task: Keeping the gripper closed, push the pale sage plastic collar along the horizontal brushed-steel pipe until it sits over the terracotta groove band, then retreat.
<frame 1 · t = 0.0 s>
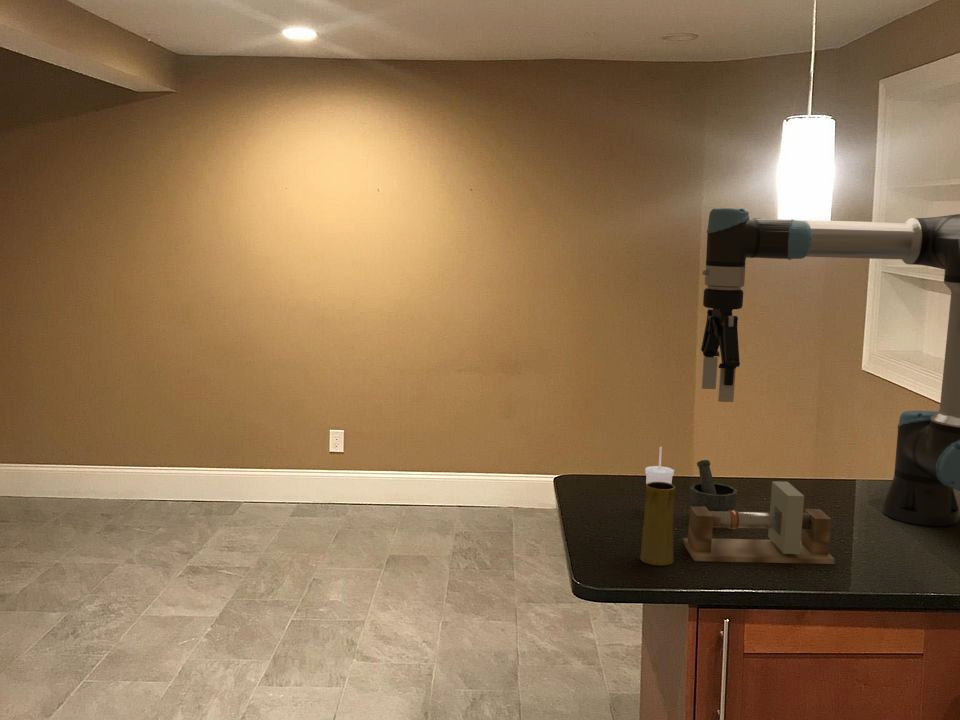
hand: (716, 395, 195), 28 cm above the table, fingers open, 13 cm apart
mortar and pestle: (710, 520, 206), on the table
stand: (756, 553, 186), on the table
vase: (656, 561, 181), on the table
beverage cup: (657, 510, 212), on the table
collar: (785, 516, 185), point 7 cm above the table, slide at -5.0 cm
pipe: (758, 520, 185), point 6 cm above the table
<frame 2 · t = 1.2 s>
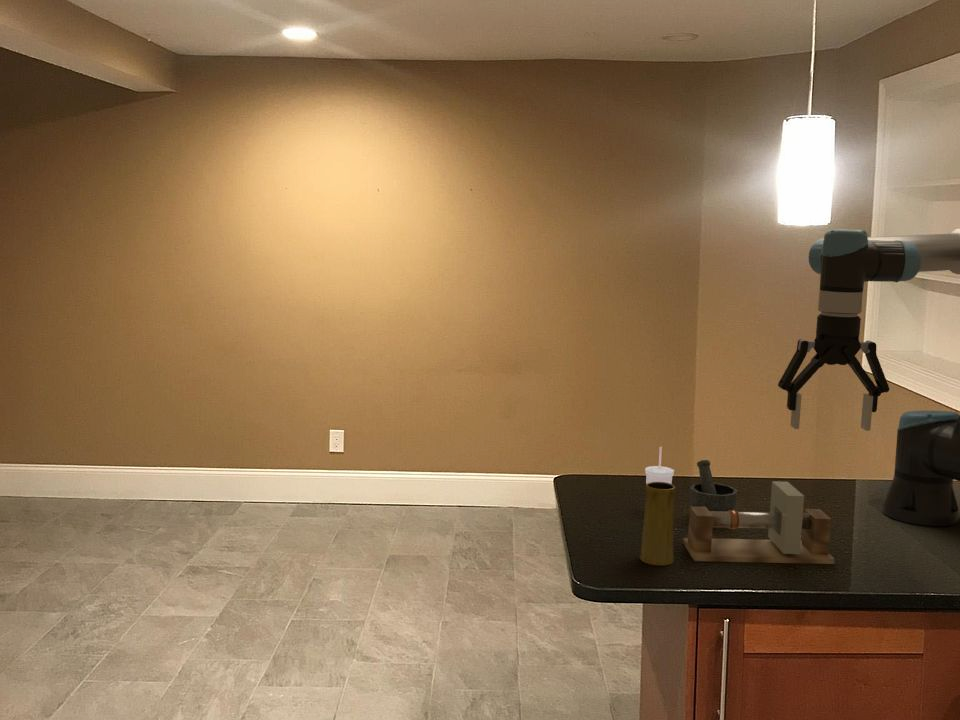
hand: (830, 428, 183), 24 cm above the table, fingers open, 12 cm apart
nothing on the table moved.
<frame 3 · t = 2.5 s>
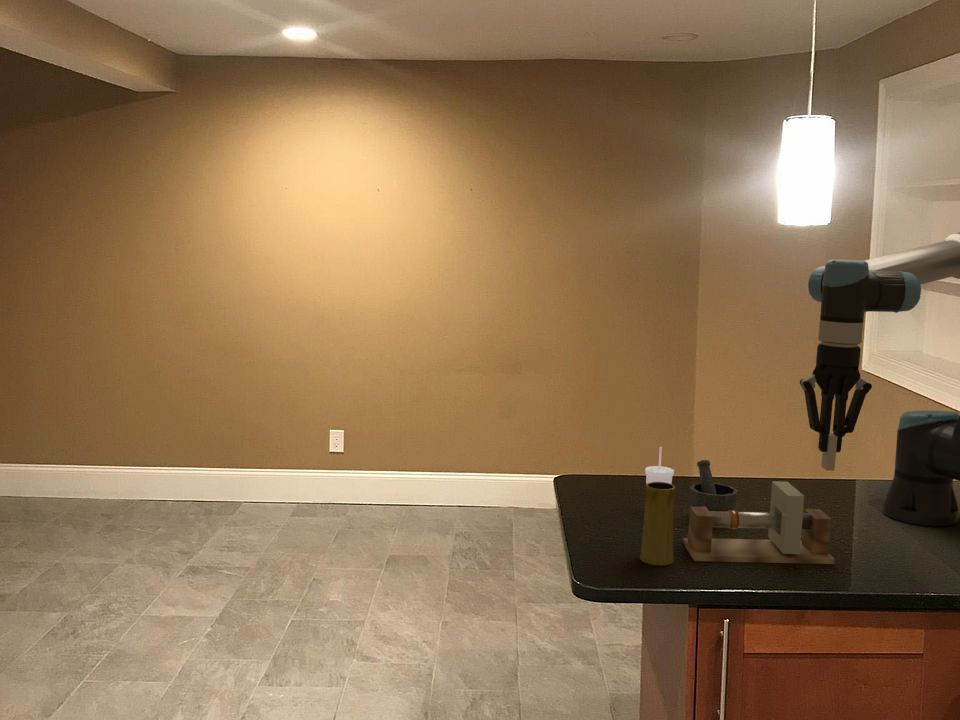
hand: (827, 468, 184), 17 cm above the table, fingers closed
nothing on the table moved.
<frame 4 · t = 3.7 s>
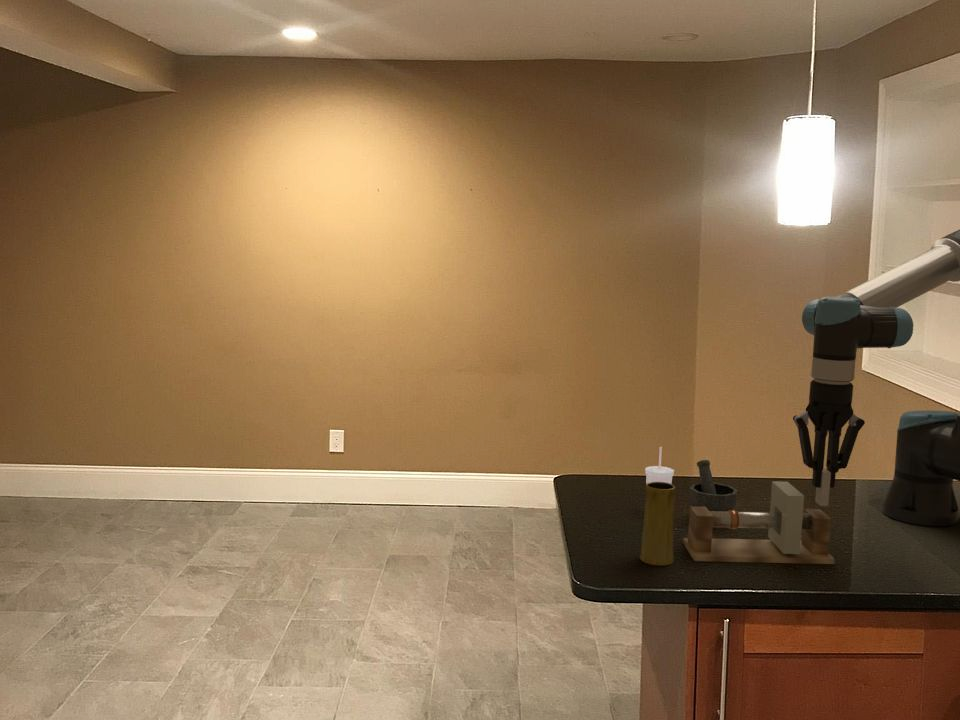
hand: (821, 503, 185), 10 cm above the table, fingers closed
nothing on the table moved.
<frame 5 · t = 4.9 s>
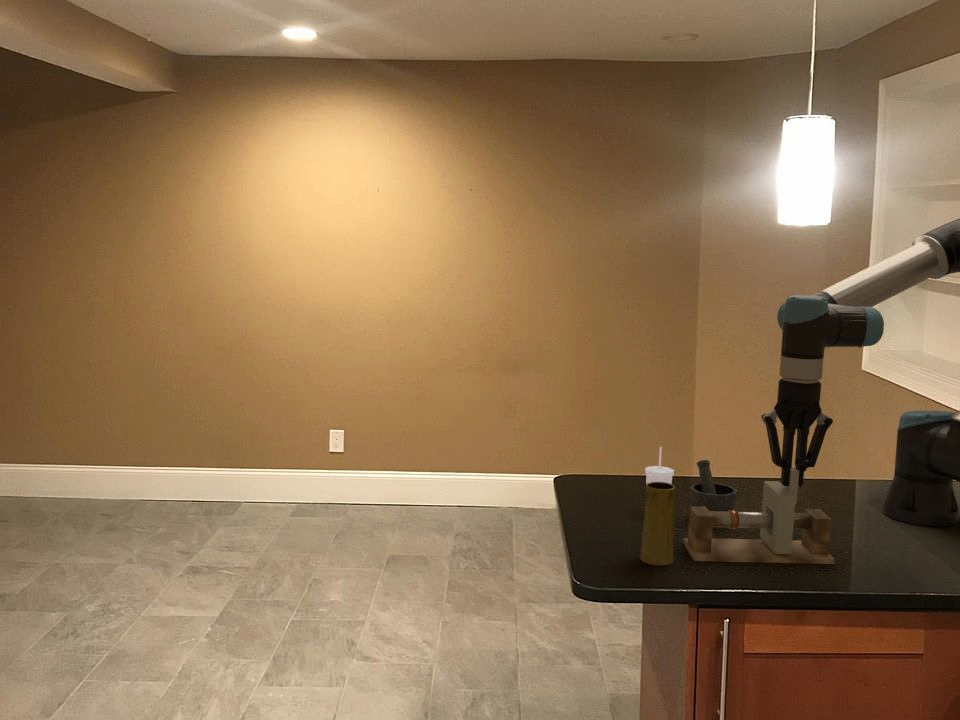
hand: (790, 502, 185), 10 cm above the table, fingers closed
collar: (777, 516, 185), point 7 cm above the table, slide at -3.4 cm, touching gripper
everything else where it was.
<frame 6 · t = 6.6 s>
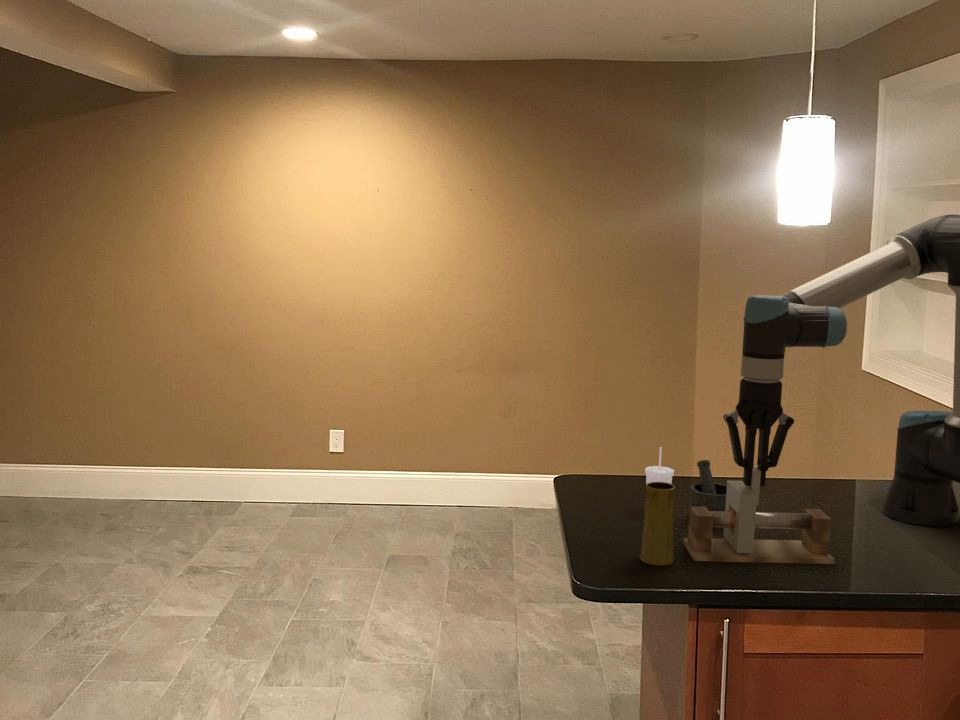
hand: (752, 502, 185), 10 cm above the table, fingers closed
collar: (739, 515, 185), point 7 cm above the table, slide at 3.7 cm, touching gripper
everything else where it was.
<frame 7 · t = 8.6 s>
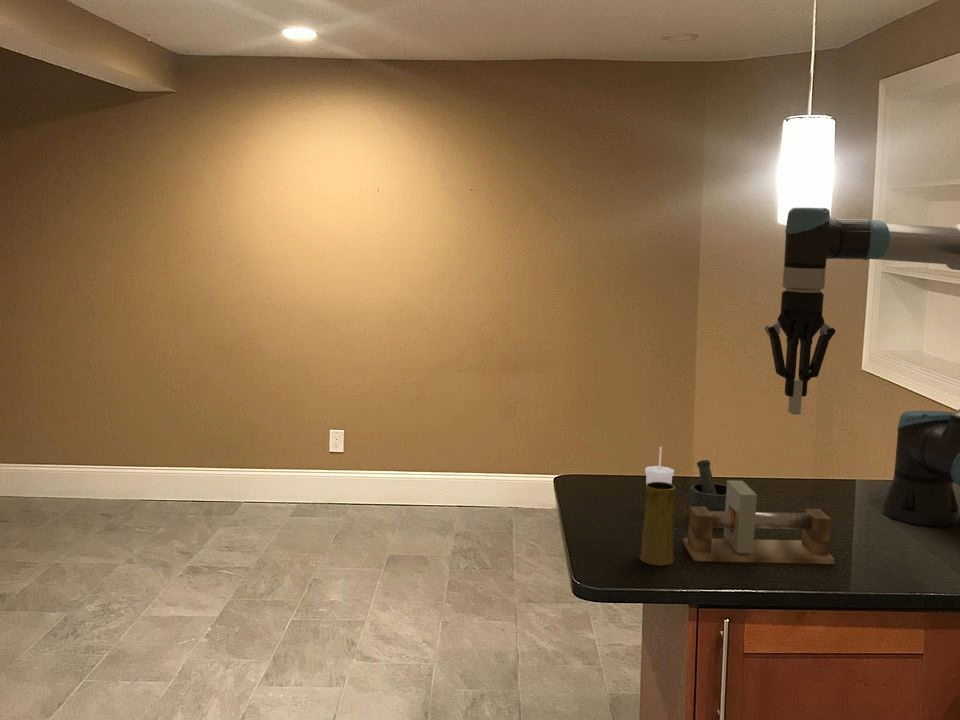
hand: (794, 412, 188), 26 cm above the table, fingers closed
collar: (739, 515, 185), point 7 cm above the table, slide at 3.7 cm
everything else where it was.
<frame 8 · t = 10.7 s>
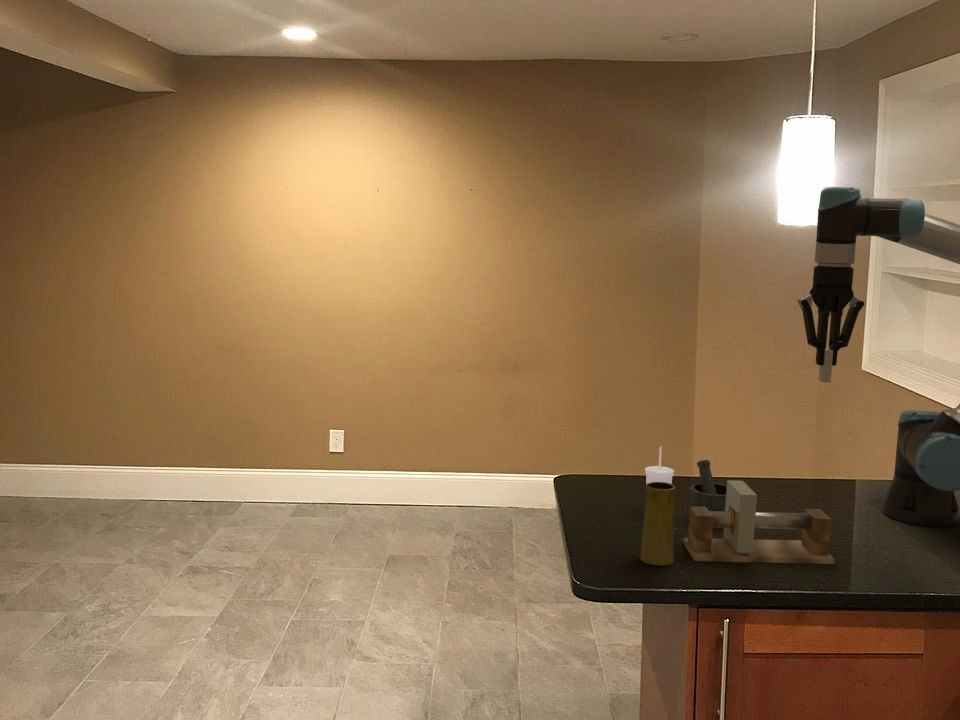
hand: (824, 381, 200), 30 cm above the table, fingers closed
nothing on the table moved.
at the end: collar slide at 3.7 cm; collar touching nothing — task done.
